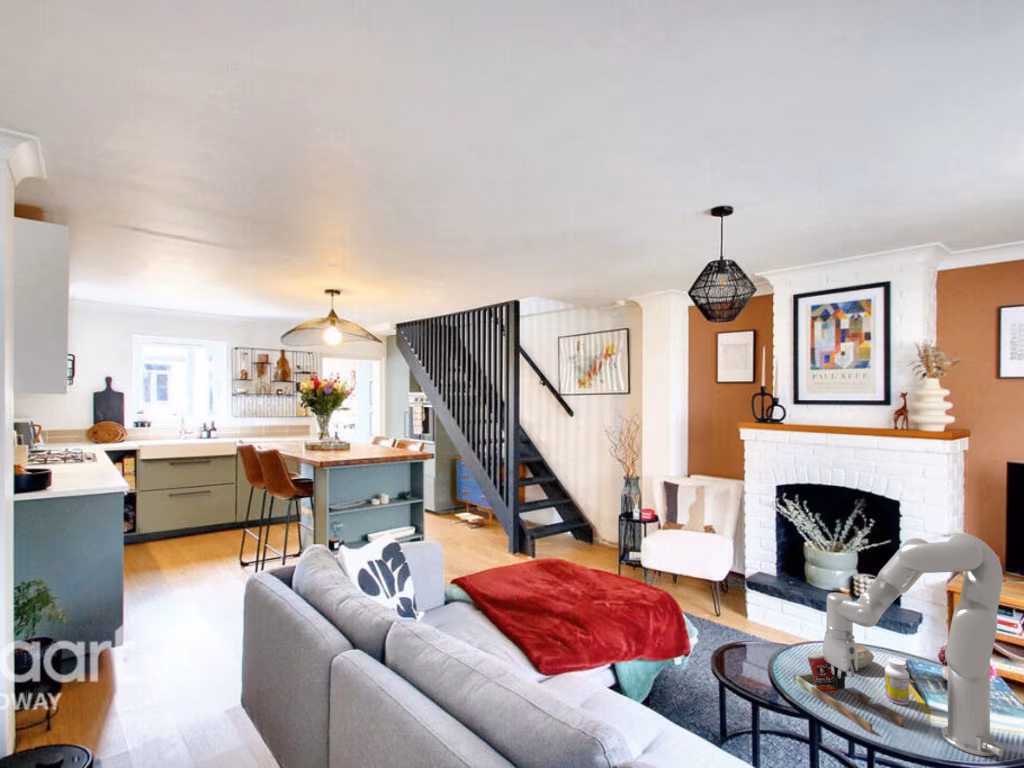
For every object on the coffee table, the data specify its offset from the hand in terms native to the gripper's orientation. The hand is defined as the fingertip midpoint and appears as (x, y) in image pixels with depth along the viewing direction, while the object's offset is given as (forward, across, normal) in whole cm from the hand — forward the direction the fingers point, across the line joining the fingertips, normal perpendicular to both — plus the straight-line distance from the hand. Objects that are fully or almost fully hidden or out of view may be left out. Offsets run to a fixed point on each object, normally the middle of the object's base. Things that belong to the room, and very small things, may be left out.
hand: (839, 687), depth 183 cm
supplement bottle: (+4, -5, -19) cm, 20 cm away
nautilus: (+4, +19, -22) cm, 30 cm away
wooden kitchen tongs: (+4, -2, -2) cm, 5 cm away
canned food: (+3, +4, 0) cm, 5 cm away
